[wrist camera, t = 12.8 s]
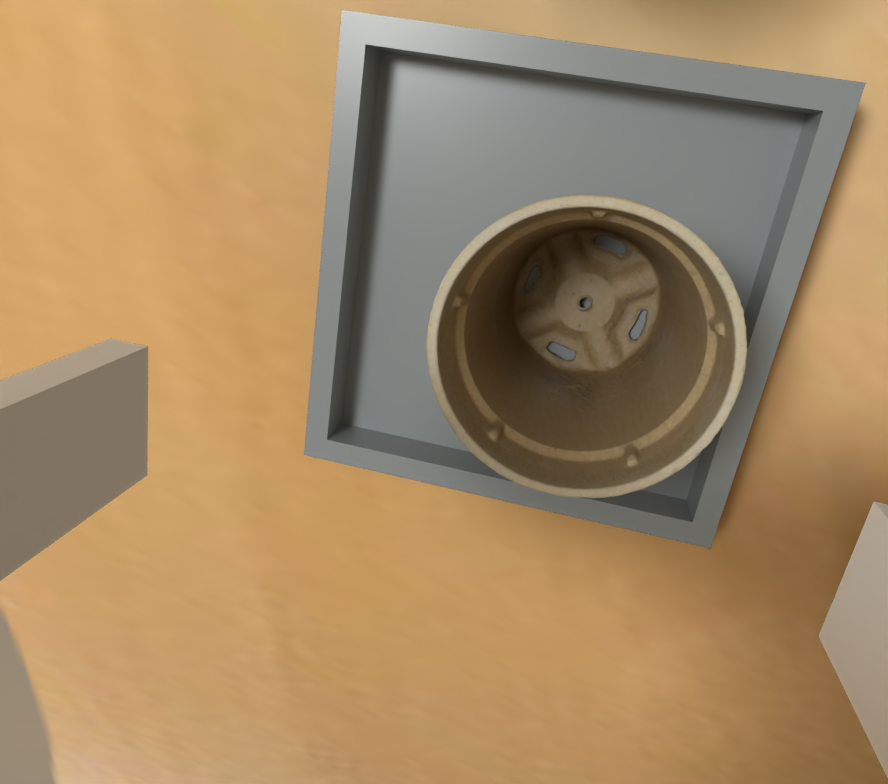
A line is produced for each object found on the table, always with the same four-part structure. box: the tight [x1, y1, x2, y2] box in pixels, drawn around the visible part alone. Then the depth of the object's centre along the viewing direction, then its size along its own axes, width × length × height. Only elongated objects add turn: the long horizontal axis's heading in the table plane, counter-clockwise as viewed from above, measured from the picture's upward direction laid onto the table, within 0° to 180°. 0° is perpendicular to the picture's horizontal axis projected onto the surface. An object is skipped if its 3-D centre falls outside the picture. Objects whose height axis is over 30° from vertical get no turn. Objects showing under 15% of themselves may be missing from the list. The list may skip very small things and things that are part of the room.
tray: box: [304, 10, 866, 548], centre depth 29 cm, size 18×18×3 cm
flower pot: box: [426, 195, 747, 498], centre depth 25 cm, size 9×9×9 cm
